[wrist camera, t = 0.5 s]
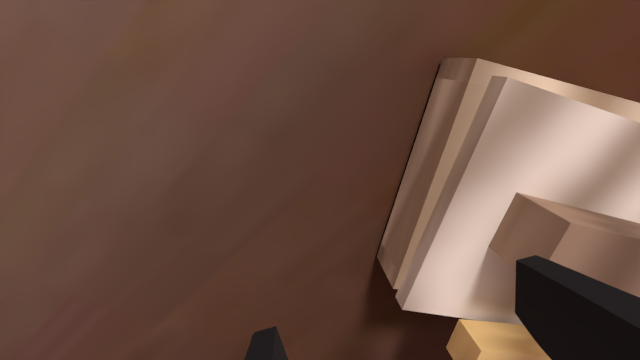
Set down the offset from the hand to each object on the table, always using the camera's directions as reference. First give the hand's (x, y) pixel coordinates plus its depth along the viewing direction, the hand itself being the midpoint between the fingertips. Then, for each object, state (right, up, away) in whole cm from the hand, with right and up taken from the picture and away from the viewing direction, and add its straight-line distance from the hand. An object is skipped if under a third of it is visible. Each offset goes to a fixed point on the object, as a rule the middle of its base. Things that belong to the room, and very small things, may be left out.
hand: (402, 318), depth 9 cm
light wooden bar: (+8, -5, +9) cm, 13 cm away
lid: (+10, 0, +8) cm, 13 cm away
